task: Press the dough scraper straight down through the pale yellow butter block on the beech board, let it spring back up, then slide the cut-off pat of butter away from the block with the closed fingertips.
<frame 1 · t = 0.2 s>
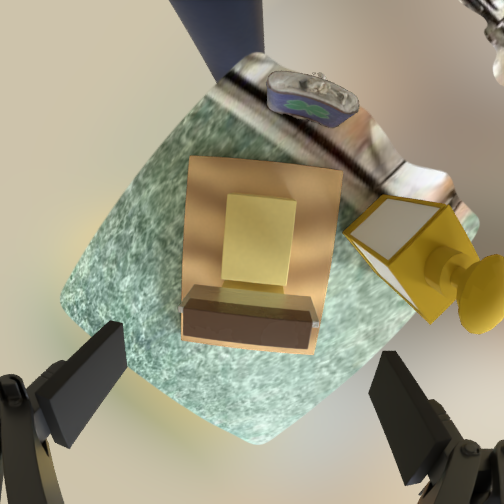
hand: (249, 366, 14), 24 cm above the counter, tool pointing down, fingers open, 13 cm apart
butter board: (256, 259, 38), on the counter
butter block: (259, 233, 36), point 1 cm above the counter, touching butter board
dough scraper: (249, 309, 27), point 12 cm above the counter, slide at 0.1 cm
soap bottle: (393, 220, 36), on the counter
butter pat: (253, 291, 37), point 1 cm above the counter, touching butter board
flask: (304, 110, 34), on the counter
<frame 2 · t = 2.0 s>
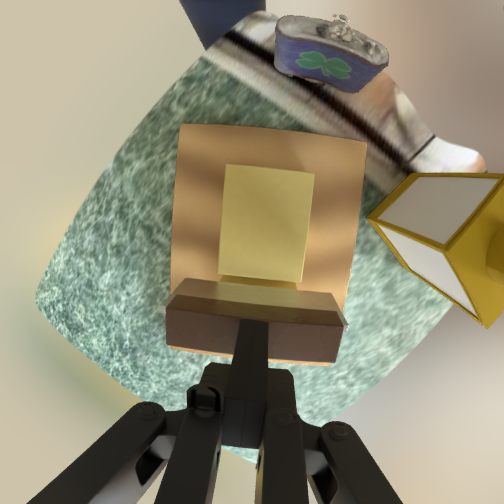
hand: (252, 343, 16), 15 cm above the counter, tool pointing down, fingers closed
butter board: (262, 250, 31), on the counter
butter block: (265, 218, 28), point 1 cm above the counter, touching butter board
dough scraper: (255, 309, 20), point 11 cm above the counter, slide at -0.6 cm, touching gripper
soap bottle: (423, 204, 29), on the counter
butter pat: (257, 290, 30), point 1 cm above the counter, touching butter board
flask: (318, 73, 26), on the counter
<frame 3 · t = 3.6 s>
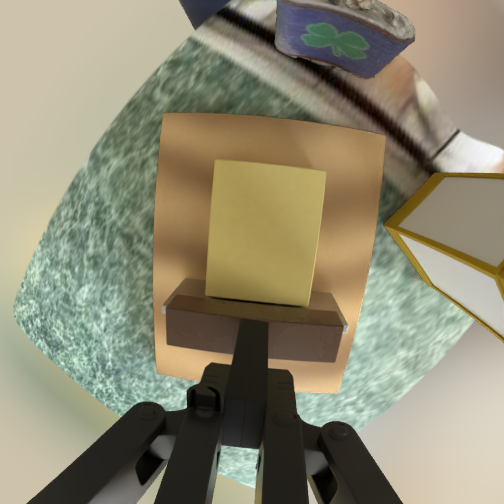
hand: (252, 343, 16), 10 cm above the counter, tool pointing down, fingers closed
butter board: (260, 264, 26), on the counter
butter block: (264, 225, 24), point 1 cm above the counter, touching butter board
dough scraper: (255, 309, 20), point 6 cm above the counter, slide at -5.7 cm, touching gripper
soap bottle: (447, 208, 24), on the counter
flask: (327, 55, 22), on the counter
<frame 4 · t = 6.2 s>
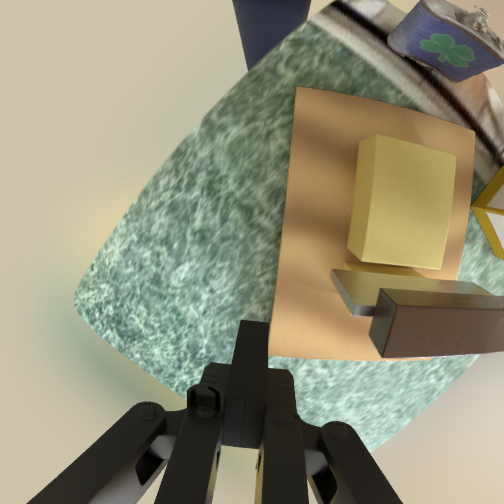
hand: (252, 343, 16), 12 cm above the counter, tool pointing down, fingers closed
butter board: (379, 237, 26), on the counter
butter block: (391, 200, 24), point 1 cm above the counter, touching butter board
dough scraper: (438, 302, 15), point 12 cm above the counter, slide at 0.1 cm
butter pat: (377, 281, 25), point 1 cm above the counter, touching butter board
flask: (425, 58, 22), on the counter
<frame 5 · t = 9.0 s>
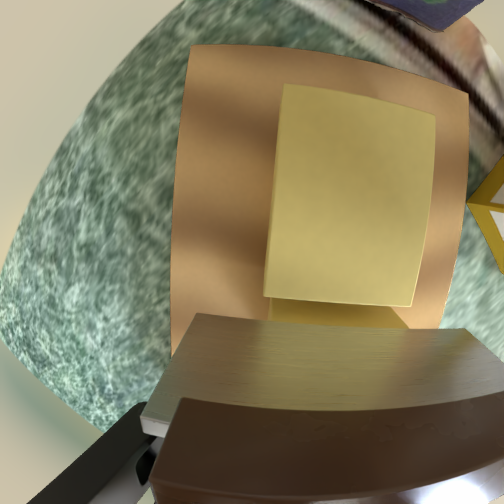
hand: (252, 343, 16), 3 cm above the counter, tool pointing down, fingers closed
butter board: (323, 251, 18), on the counter
butter block: (335, 195, 16), point 1 cm above the counter, touching butter board
dough scraper: (378, 396, 7), point 12 cm above the counter, slide at 0.1 cm
butter pat: (325, 317, 18), point 2 cm above the counter
flask: (390, 1, 14), on the counter
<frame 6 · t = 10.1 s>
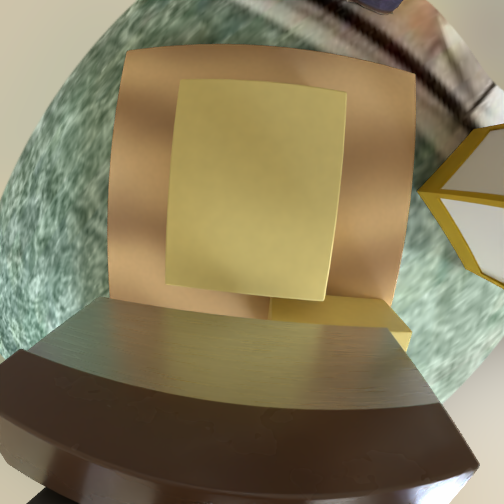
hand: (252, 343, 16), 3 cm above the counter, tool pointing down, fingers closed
butter board: (252, 244, 18), on the counter
butter block: (257, 186, 16), point 1 cm above the counter, touching butter board
dough scraper: (224, 388, 7), point 12 cm above the counter, slide at 0.1 cm
soap bottle: (490, 175, 17), on the counter
butter pat: (325, 318, 18), point 2 cm above the counter, touching butter board
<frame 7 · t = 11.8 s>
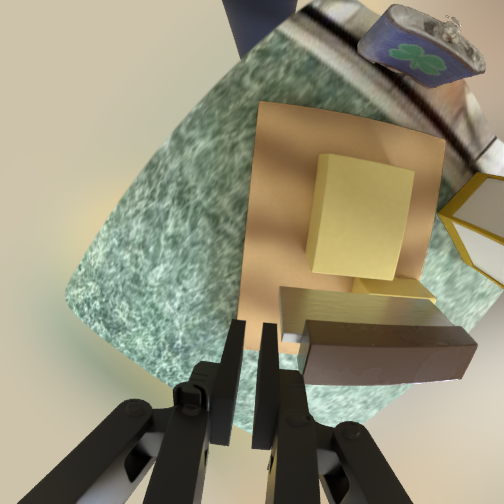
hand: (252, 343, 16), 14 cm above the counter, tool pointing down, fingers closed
butter board: (340, 243, 28), on the counter
butter block: (350, 210, 26), point 1 cm above the counter, touching butter board
dough scraper: (377, 326, 17), point 12 cm above the counter, slide at 0.9 cm
soap bottle: (484, 202, 26), on the counter
butter pat: (384, 290, 28), point 1 cm above the counter, touching butter board
flask: (398, 63, 23), on the counter
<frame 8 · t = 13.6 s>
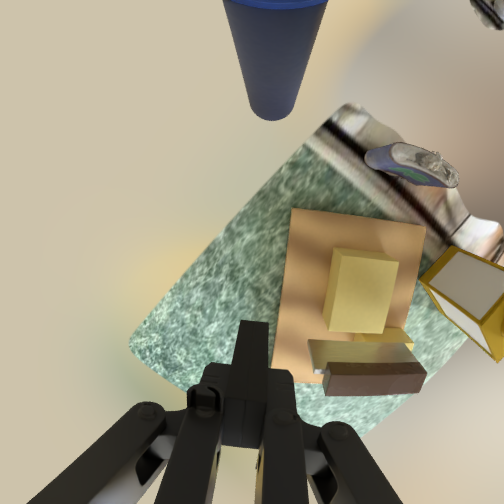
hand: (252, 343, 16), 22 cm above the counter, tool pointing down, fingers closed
salt shaker: (500, 12, 26), on the counter
butter board: (346, 305, 39), on the counter
butter block: (354, 284, 37), point 1 cm above the counter, touching butter board
dough scraper: (367, 362, 28), point 12 cm above the counter, slide at 0.1 cm
soap bottle: (457, 266, 37), on the counter
butter pat: (377, 336, 38), point 1 cm above the counter, touching butter board
flask: (395, 167, 35), on the counter
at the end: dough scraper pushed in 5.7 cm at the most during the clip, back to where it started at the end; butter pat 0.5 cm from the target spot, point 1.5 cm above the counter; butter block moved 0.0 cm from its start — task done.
